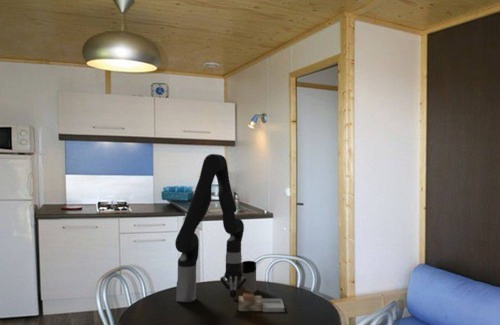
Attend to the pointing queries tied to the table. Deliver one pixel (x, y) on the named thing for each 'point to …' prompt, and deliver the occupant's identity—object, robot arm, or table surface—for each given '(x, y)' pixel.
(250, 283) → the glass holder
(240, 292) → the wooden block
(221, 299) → the table surface
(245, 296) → the tile
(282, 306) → the tray
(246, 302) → the beige patterned box
